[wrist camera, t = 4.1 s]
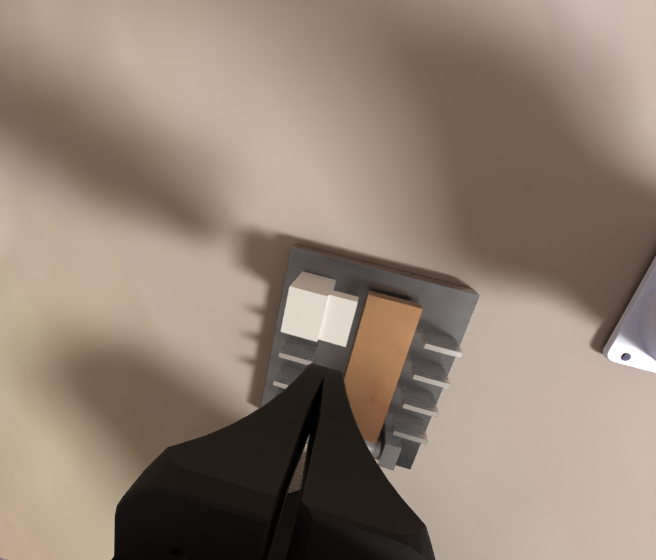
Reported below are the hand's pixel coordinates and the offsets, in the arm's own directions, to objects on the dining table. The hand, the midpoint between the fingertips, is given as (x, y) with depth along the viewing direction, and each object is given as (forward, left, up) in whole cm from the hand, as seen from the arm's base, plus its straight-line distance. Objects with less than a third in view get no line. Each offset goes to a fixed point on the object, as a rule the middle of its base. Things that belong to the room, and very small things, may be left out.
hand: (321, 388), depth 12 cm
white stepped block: (+2, -1, -7) cm, 8 cm away
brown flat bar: (-3, +3, -7) cm, 8 cm away
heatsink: (-2, +3, -9) cm, 9 cm away
